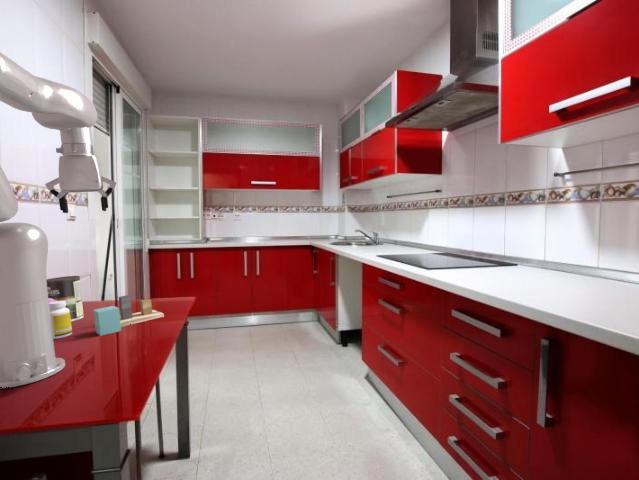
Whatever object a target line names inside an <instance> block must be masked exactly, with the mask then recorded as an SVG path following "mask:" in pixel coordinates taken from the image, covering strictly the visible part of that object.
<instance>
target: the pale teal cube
mask: <svg viewBox="0 0 639 480" xmlns="http://www.w3.org/2000/svg"><path fill="white" fill-rule="evenodd" d="M120 316H121V315H120V307H117V306H115V305H110V306H106V307H100V308H96V309H93V321H94V328H95V329H94V330H95V333H96V334H97V335H99V336H100V337H102V336H105V335H109V334H113V333H119V332H121V331H122V327H121V323H120Z"/></svg>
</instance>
